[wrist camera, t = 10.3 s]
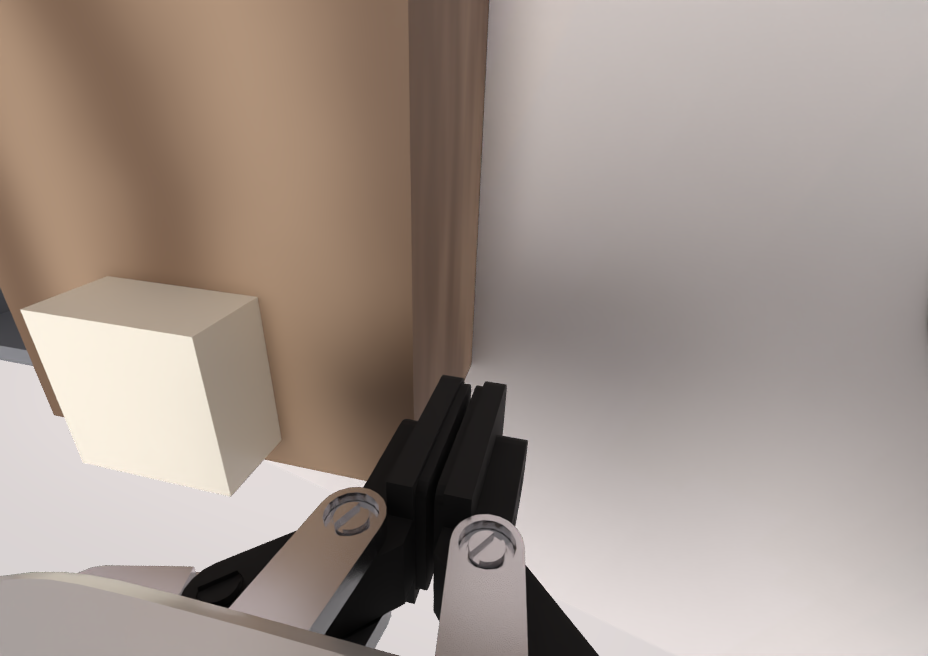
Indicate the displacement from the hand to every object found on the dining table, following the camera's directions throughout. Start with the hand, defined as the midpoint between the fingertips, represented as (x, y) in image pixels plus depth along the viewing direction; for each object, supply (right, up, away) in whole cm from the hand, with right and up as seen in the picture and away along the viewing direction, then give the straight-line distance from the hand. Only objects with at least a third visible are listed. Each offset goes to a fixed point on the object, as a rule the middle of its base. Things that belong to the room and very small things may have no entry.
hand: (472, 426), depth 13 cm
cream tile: (-8, +2, +2) cm, 9 cm away
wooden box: (-6, +9, +7) cm, 13 cm away
